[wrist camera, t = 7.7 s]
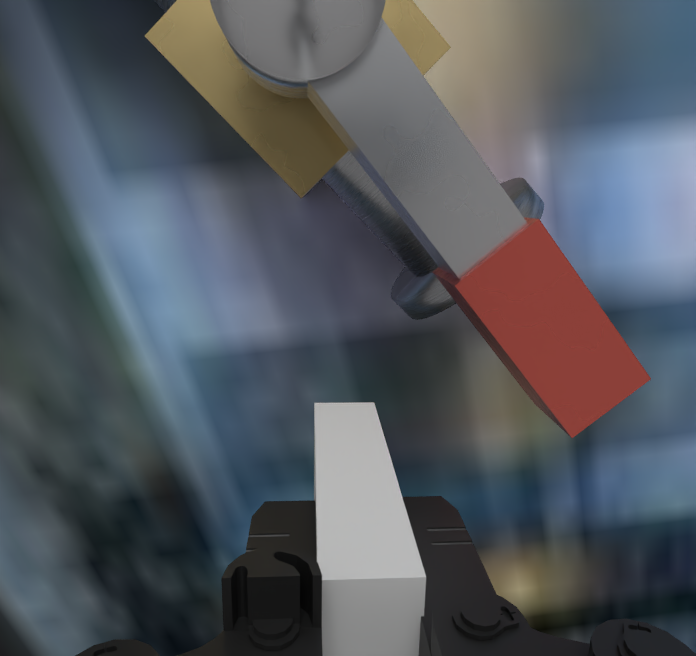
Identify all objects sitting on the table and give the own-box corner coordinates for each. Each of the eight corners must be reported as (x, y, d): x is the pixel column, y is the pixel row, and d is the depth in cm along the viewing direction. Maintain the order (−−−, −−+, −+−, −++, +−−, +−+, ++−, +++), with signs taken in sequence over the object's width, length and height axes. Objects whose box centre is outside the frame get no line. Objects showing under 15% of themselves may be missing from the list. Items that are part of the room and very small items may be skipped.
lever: (193, 5, 13) (167, -37, 11) (308, -100, 13) (309, -167, 11) (517, 415, 16) (553, 453, 14) (617, 339, 16) (672, 364, 14)
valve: (69, -37, 21) (-93, -196, 12) (187, -173, 20) (100, -439, 12) (396, 301, 25) (443, 356, 16) (505, 197, 24) (613, 198, 16)
